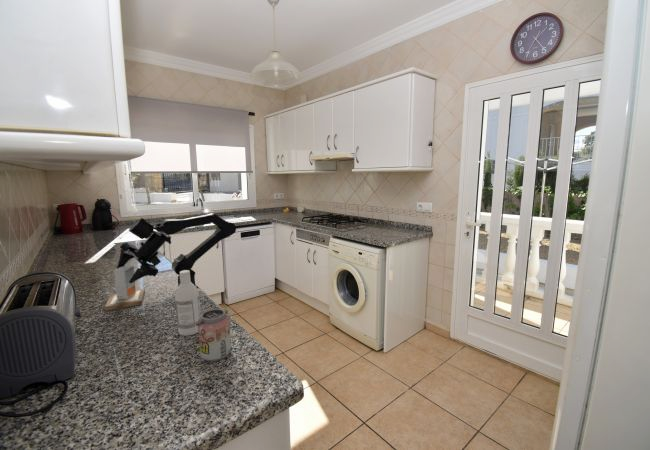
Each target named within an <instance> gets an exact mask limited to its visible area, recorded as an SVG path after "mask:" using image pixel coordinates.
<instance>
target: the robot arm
mask: <svg viewBox="0 0 650 450" xmlns="http://www.w3.org/2000/svg"><path fill="white" fill-rule="evenodd" d="M208 224H213V225H215V226H216V229H215V230H214V232H213V233H212V234H211V235H209V236H208V237H207V238H206V239H205V240H204V241H202V242H201V243H199V245H197V246H196V247H195V248H194V249H192V250H191V251H190V252H189V253H187V254H185V255H184V254H183V253H180V254H179V256H177V257H176V258H174V259H173V262H172V263H171V269H172V271H173V272H174V273H175V275H177V285H178V286H177V288H178V287H179V285H180V283H181V282H180V271H183V270H189V271H190V280H191V282H192V284H193V285H194V286H195V287H196V288H197V289H198V288H199V286H198V285H196V278H195V276H196V272H195V270H193V267H194V265H195V263H196V262H197V261H198V260H199V259H200V258H201V257H203V256H204V255H205V254H206V253H207V252H209V250H212V248H213V247H215V246H216V245H217V244H218V243H219V242H220V241H222V240H225V239H226V238H229V237H231V236H232V235H234V234H235V233H236V231H237V226H236V224H235V223H233V222H230V221H228V220H226V219H223V218H222V217H220V216H219V215H218V214H215V213H213V212H212V213H208V214H201V215H198V216H192V217H188V218H181V219H180V218H171V219H170V218H168V219H167V218H165V219H163V220H162V221H160V223H154V224H151V223H149V222H148V221H147V220H146V219H144V218H143V217H140V218H139V219H138V220H136V222H134V223H133V224H132V225H131V226H130V228H129V230H128V232H129V233H130V234H133V235H134V236H136V237H137V238H139V239H141V240H143V239H146V241H144V242H143V241H141V242H140V247H139V248H137V246H135V244H131V243H129V242H125V243H122V244H121V245H120V246H119V248H120V250H119V251H120V254H119V259H118V264H117V266H116V269H118V268H120V267H122V266H126V264H127V263H128V262H129V261H130V260H132V259H135V260H136V261H137V262H138V263H139V264H140V267H138V268H137V269H136V270H135V271H134V275H133V276H132V278H131V279H130V281H129V283H133V282H135V283H136V282H137V281H138V280H139V279H140V280H141V279H142V278H144V277H147V276H149V277H156V276H157V275H158V273H159V269H158V268H157V267H156V266H157V265H158V264H160V263H162V261H161V260H160V258H159V257H158V254H159V250H160V248H162V246H163V245H164V244H165V243H167V244H169V245H171V244H172V236H171V235H174V234H176V233H179V232H181V231H183V230H186V229H188V228H189V229H190V228H192V227H193V228H194V227H199V226H202V225H203V226H204V225H208ZM159 232H160V233H159ZM176 291H177V289H176Z"/></svg>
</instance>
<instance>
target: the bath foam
mask: <svg viewBox="0 0 650 450" xmlns="http://www.w3.org/2000/svg"><path fill="white" fill-rule="evenodd" d="M179 276H180V282H181V283H180V285H179V287H178V286H177V289H176V290H177V291H176V292H174V293H175V294H174V302H175V312H176V313H175V314H176V323H177V331H178V334H179V335H180V336H185V337H187V336H192V335H193V336H194V335H195V334H199V333H198V326H196V325H195V323H196V322H197V321H198V319H200V315H201V314H202V313H201V312H202V311H201V304H200V303H201V301H200V294H199V290H198V288H196V287H195V286H196V285H195V286H194V285H193V284H192V282H191V280H190V271H189V270H183V271H180V275H179Z"/></svg>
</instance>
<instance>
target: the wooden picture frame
mask: <svg viewBox="0 0 650 450" xmlns="http://www.w3.org/2000/svg"><path fill="white" fill-rule="evenodd" d="M145 294H146V289H145V288H140V289H136V293H135V294H134V295H132V296H130V297H129V298H127V299H117V296H116V292H115V293H111V294H110V296H109V298H108V300H107V302H106V303H105V305H104V311H109V310H117V309H123V308H127V307H133V306H139V305H143V303H144V302H143V301H144V300H145V299H144V298H145Z"/></svg>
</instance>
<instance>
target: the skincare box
mask: <svg viewBox="0 0 650 450" xmlns="http://www.w3.org/2000/svg"><path fill="white" fill-rule="evenodd" d="M113 273H114V284H115V293H116V296H117V299H127V298H129V297H130V296H132V295H134V294H135V293H136V290H137V289H136V281H135V282H133V283H129V281H130V279H131V278H132V276H133V275H134V273H135V265H124V266H122V267H120V268H118V269H117V268H116V269H114V270H113Z"/></svg>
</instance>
